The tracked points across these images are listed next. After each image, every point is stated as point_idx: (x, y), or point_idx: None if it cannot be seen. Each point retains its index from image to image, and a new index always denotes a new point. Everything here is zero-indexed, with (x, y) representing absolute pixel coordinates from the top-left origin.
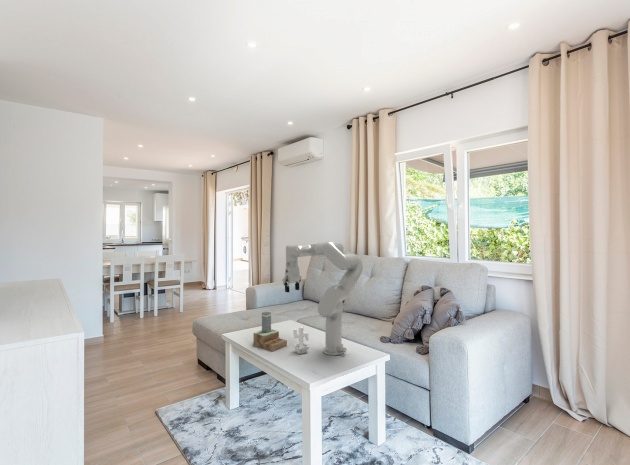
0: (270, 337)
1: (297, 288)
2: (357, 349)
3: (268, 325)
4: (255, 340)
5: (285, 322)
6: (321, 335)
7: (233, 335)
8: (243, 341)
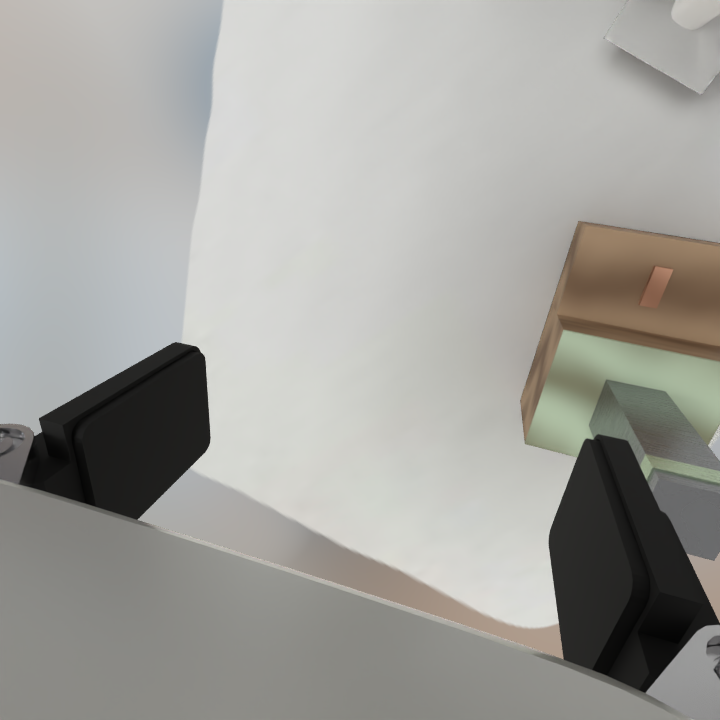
0: (660, 342)
1: (185, 398)
2: None
3: (656, 415)
4: None
5: (198, 460)
6: (252, 122)
7: (534, 600)
8: None
